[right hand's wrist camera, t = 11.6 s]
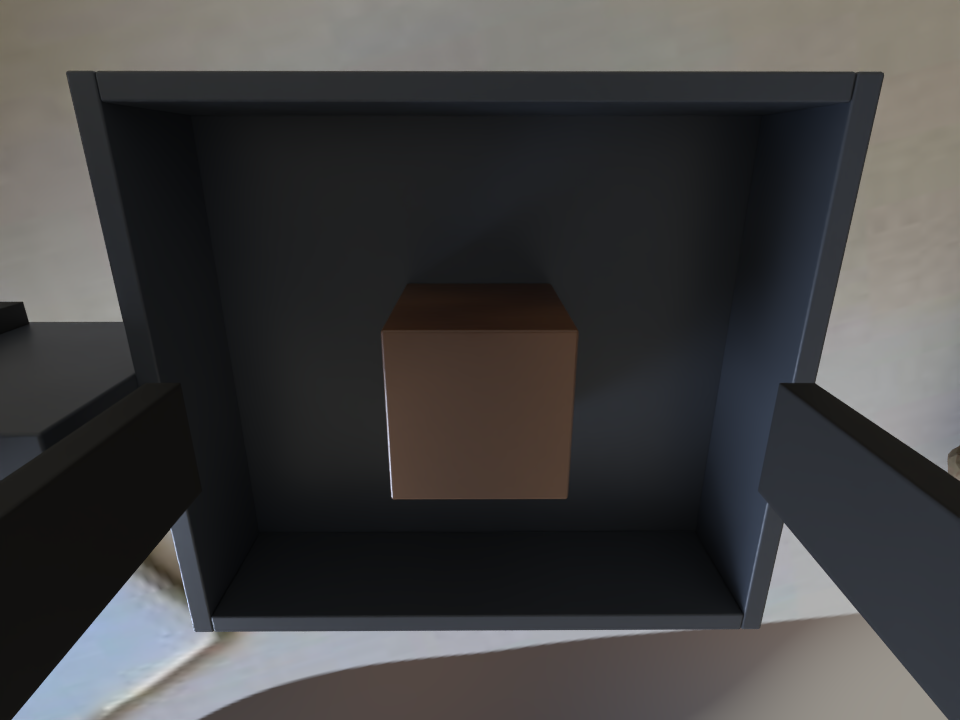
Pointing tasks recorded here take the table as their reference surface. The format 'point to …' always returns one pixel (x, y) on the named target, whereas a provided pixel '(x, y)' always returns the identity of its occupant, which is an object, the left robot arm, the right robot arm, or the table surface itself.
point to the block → (479, 392)
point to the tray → (458, 260)
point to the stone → (954, 463)
